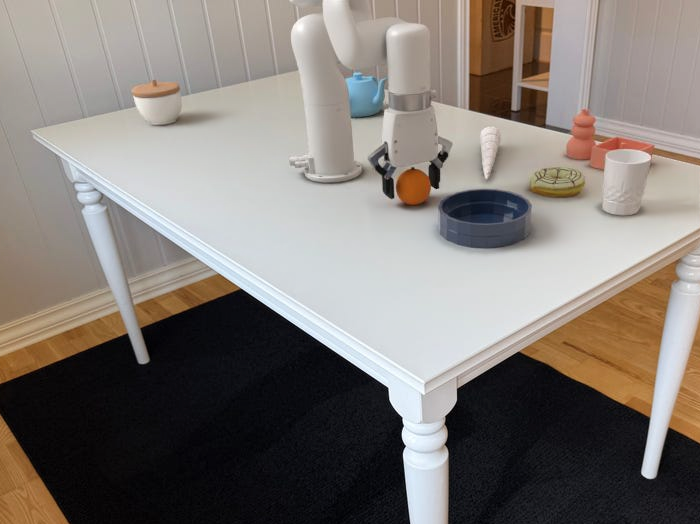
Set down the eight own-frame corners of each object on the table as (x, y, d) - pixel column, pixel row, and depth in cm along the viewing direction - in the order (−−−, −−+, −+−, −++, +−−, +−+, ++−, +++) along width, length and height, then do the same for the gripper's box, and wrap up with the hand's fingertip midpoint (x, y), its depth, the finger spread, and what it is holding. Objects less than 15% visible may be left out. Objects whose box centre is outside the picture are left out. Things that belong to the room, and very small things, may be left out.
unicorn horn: (468, 181, 142) (468, 158, 140) (480, 145, 161) (480, 125, 159) (491, 182, 141) (492, 159, 139) (500, 146, 160) (501, 125, 158)
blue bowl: (446, 254, 115) (446, 228, 112) (432, 216, 128) (432, 192, 125) (540, 247, 116) (542, 220, 113) (517, 210, 129) (518, 185, 126)
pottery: (651, 164, 147) (659, 117, 141) (626, 175, 141) (634, 127, 136) (580, 147, 158) (585, 103, 152) (555, 157, 153) (559, 112, 147)
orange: (398, 212, 130) (396, 175, 126) (394, 199, 136) (393, 162, 132) (433, 210, 131) (433, 172, 126) (428, 196, 136) (428, 160, 132)
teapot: (383, 103, 196) (381, 65, 190) (390, 117, 184) (388, 77, 178) (332, 107, 194) (329, 69, 189) (336, 122, 182) (332, 81, 176)
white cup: (635, 220, 123) (644, 166, 118) (592, 212, 127) (599, 159, 121) (647, 205, 129) (656, 152, 123) (606, 198, 132) (613, 146, 126)
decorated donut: (533, 179, 142) (534, 162, 140) (586, 184, 139) (588, 165, 137) (524, 198, 134) (525, 179, 131) (580, 203, 131) (582, 184, 128)
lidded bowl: (196, 118, 191) (187, 76, 184) (161, 130, 182) (150, 87, 176) (165, 113, 196) (155, 72, 190) (129, 124, 188) (118, 82, 181)
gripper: (441, 89, 128) (441, 177, 138) (357, 102, 122) (363, 194, 132) (461, 98, 122) (460, 189, 132) (374, 112, 117) (379, 207, 126)
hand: (411, 191), depth 132 cm, fingers open, 9 cm apart
